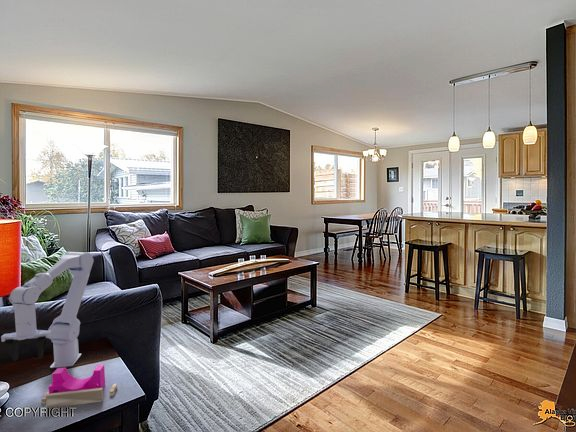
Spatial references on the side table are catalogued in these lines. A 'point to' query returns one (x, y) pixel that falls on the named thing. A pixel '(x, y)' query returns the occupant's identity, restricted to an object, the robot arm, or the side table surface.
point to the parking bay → (75, 397)
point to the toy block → (76, 381)
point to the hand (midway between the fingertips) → (28, 358)
